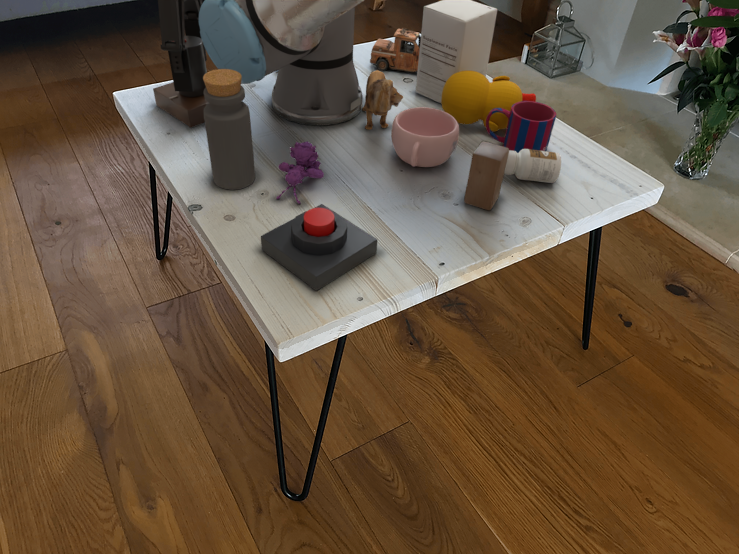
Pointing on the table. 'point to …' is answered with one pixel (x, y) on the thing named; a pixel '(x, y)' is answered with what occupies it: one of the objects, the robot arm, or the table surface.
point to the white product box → (453, 43)
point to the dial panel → (180, 105)
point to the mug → (424, 136)
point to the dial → (196, 65)
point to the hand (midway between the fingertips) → (191, 74)
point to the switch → (319, 222)
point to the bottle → (228, 130)
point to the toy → (480, 98)
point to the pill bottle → (534, 165)
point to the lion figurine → (379, 98)
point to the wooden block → (486, 175)
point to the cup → (526, 126)
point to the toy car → (397, 52)
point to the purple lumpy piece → (301, 165)
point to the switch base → (319, 249)
